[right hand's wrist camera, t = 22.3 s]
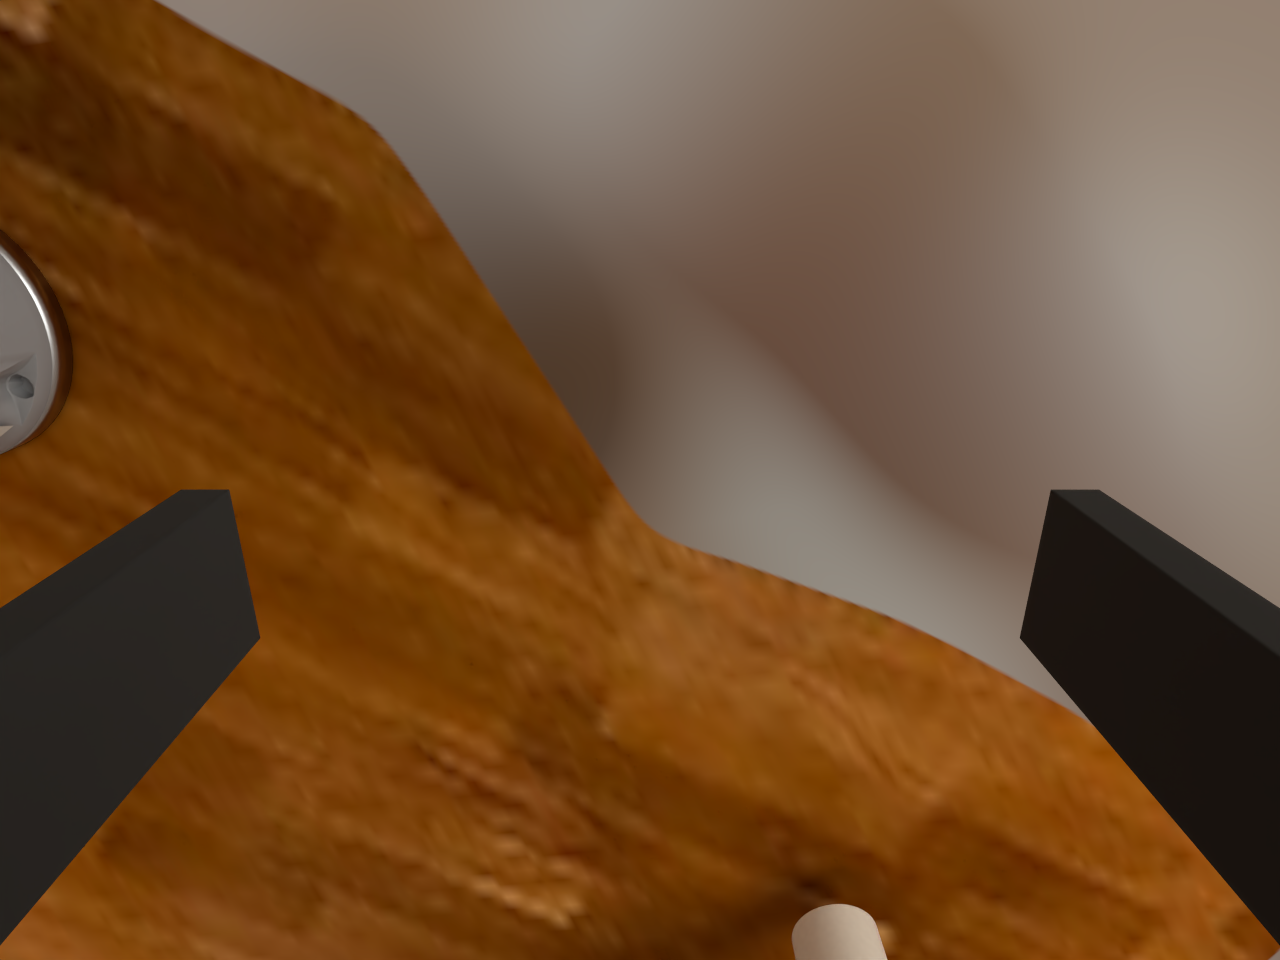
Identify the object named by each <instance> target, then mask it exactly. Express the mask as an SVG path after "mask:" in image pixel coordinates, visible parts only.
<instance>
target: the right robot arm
mask: <svg viewBox="0 0 1280 960" xmlns="http://www.w3.org/2000/svg"><path fill="white" fill-rule="evenodd" d="M72 372H73V355H72V345H71V339H70V334H69V330H68V327H67V323H66V320H65V317H64V314H63V312H62V309H61V307H60V305H59V303H58V300H57V298H56V296H55V294H54V293H53V291H52V289H51V287H50V286H49V284H48V282H47V281H46V279H45V278H44V276H43V275H42V273H41V272H40V270H39V269H38V268H37V266H36V265H35V264H34V263H33V261H32V260H31V259H30V258H29V257H28V255H27V254H26V253H25V252H24V251H23V250H22V249H21V248H20V247H19V246H18V245H17V244H16V243H15V242H14V241H13V240H12V239H11V238H10V237H9V236H8V235H6V234H5V233H4V232H3V231H1V230H0V454H2V453H4V452H6V451H9V450H11V449H14V448H16V447H18V446H21V445H23V444H25V443H27V442H29V441H31V440H32V439H34V438H36V437H37V436H38V435H40V434H41V433H42V432H43V431H45V430H46V429H47V428H48V427H49V426H50V424H51V423H52V422H53V421H54V420H55V418H56V417H57V416H58V414H59V413H60V411H61V409H62V407H63V405H64V403H65V401H66V398H67V396H68V392H69V389H70V385H71V379H72ZM259 639H260V635H259V630H258V625H257V620H256V616H255V611H254V606H253V601H252V596H251V592H250V587H249V582H248V577H247V573H246V568H245V563H244V558H243V554H242V549H241V544H240V539H239V535H238V530H237V525H236V520H235V516H234V511H233V506H232V501H231V497H230V492H229V490H180V491H178V492H177V493H175V494H174V495H172V496H171V497H169V498H168V499H166V500H165V501H163V502H162V503H160V504H159V505H157V506H156V507H154V508H153V509H151V510H149V511H148V512H146V513H145V514H143V515H142V516H140V517H139V518H137V519H136V520H134V521H133V522H131V523H130V524H128V525H127V526H125V527H124V528H122V529H120V530H119V531H117V532H116V533H114V534H113V535H111V536H110V537H108V538H107V539H105V540H104V541H102V542H101V543H99V544H98V545H96V546H95V547H93V548H91V549H90V550H88V551H87V552H85V553H84V554H82V555H81V556H79V557H78V558H76V559H75V560H73V561H72V562H70V563H69V564H67V565H66V566H64V567H62V568H61V569H59V570H58V571H56V572H55V573H53V574H52V575H50V576H49V577H47V578H46V579H44V580H43V581H41V582H40V583H38V584H37V585H35V586H34V587H32V588H30V589H29V590H27V591H26V592H24V593H23V594H21V595H20V596H18V597H17V598H15V599H14V600H12V601H11V602H9V603H8V604H6V605H5V606H3V607H1V608H0V945H1V944H2V943H3V941H4V940H5V939H6V938H7V937H8V935H9V934H10V933H11V932H12V931H13V930H14V928H15V927H16V926H17V925H18V924H19V922H20V921H21V920H22V919H23V918H24V917H25V915H26V914H27V913H28V912H29V911H30V909H31V908H32V907H33V906H34V905H35V904H36V902H37V901H38V900H39V899H40V898H41V896H42V895H43V894H44V893H45V892H46V891H47V889H48V888H49V887H50V886H51V885H52V883H53V882H54V881H55V880H56V879H57V878H58V876H59V875H60V874H61V873H62V872H63V870H64V869H65V868H66V867H67V866H68V865H69V863H70V862H71V861H72V860H73V859H74V857H75V856H76V855H77V854H78V853H79V852H80V850H81V849H82V848H83V847H84V846H85V844H86V843H87V842H88V841H89V840H90V839H91V837H92V836H93V835H94V834H95V833H96V831H97V830H98V829H99V828H100V827H101V826H102V824H103V823H104V822H105V821H106V820H107V818H108V817H109V816H110V815H111V814H112V813H113V811H114V810H115V809H116V808H117V807H118V805H119V804H120V803H121V802H122V801H123V800H124V798H125V797H126V796H127V795H128V794H129V792H130V791H131V790H132V789H133V788H134V787H135V785H136V784H137V783H138V782H139V781H140V779H141V778H142V777H143V776H144V775H145V774H146V772H147V771H148V770H149V769H150V768H151V766H152V765H153V764H154V763H155V762H156V761H157V759H158V758H159V757H160V756H161V755H162V753H163V752H164V751H165V750H166V749H167V748H168V746H169V745H170V744H171V743H172V742H173V740H174V739H175V738H176V737H177V736H178V735H179V733H180V732H181V731H182V730H183V729H184V727H185V726H186V725H187V724H188V723H189V722H190V720H191V719H192V718H193V717H194V716H195V714H196V713H197V712H198V711H199V710H200V709H201V707H202V706H203V705H204V704H205V703H206V701H207V700H208V699H209V698H210V697H211V695H212V694H213V693H214V692H215V691H216V690H217V688H218V687H219V686H220V685H221V684H222V682H223V681H224V680H225V679H226V678H227V677H228V675H229V674H230V673H231V672H232V671H233V669H234V668H235V667H236V666H237V665H238V664H239V662H240V661H241V660H242V659H243V658H244V656H245V655H246V654H247V653H248V652H249V651H250V649H251V648H252V647H253V646H254V645H255V643H256V642H257V641H258V640H259ZM1020 639H1021V640H1022V641H1023V642H1024V643H1025V645H1026V646H1027V647H1028V648H1029V649H1030V651H1031V652H1032V653H1033V654H1034V655H1035V656H1036V658H1037V659H1038V660H1039V661H1040V662H1041V664H1042V665H1043V666H1044V667H1045V668H1046V669H1047V671H1048V672H1049V673H1050V674H1051V675H1052V677H1053V678H1054V679H1055V680H1056V681H1057V682H1058V684H1059V685H1060V686H1061V687H1062V688H1063V690H1064V691H1065V692H1066V693H1067V694H1068V695H1069V697H1070V698H1071V699H1072V700H1073V701H1074V703H1075V704H1076V705H1077V706H1078V707H1079V709H1080V710H1081V711H1082V712H1083V713H1084V714H1085V716H1086V717H1087V718H1088V719H1089V720H1090V722H1091V723H1092V724H1093V725H1094V726H1095V727H1096V729H1097V730H1098V731H1099V732H1100V733H1101V735H1102V736H1103V737H1104V738H1105V739H1106V740H1107V742H1108V743H1109V744H1110V745H1111V746H1112V748H1113V749H1114V750H1115V751H1116V752H1117V753H1118V755H1119V756H1120V757H1121V758H1122V759H1123V761H1124V762H1125V763H1126V764H1127V765H1128V766H1129V768H1130V769H1131V770H1132V771H1133V772H1134V774H1135V775H1136V776H1137V777H1138V778H1139V779H1140V781H1141V782H1142V783H1143V784H1144V785H1145V787H1146V788H1147V789H1148V790H1149V791H1150V792H1151V794H1152V795H1153V796H1154V797H1155V798H1156V800H1157V801H1158V802H1159V803H1160V804H1161V805H1162V807H1163V808H1164V809H1165V810H1166V811H1167V813H1168V814H1169V815H1170V816H1171V817H1172V818H1173V820H1174V821H1175V822H1176V823H1177V824H1178V826H1179V827H1180V828H1181V829H1182V830H1183V831H1184V833H1185V834H1186V835H1187V836H1188V837H1189V839H1190V840H1191V841H1192V842H1193V843H1194V844H1195V846H1196V847H1197V848H1198V849H1199V850H1200V852H1201V853H1202V854H1203V855H1204V856H1205V857H1206V859H1207V860H1208V861H1209V862H1210V863H1211V865H1212V866H1213V867H1214V868H1215V869H1216V870H1217V872H1218V873H1219V874H1220V875H1221V876H1222V878H1223V879H1224V880H1225V881H1226V882H1227V883H1228V885H1229V886H1230V887H1231V888H1232V889H1233V891H1234V892H1235V893H1236V894H1237V895H1238V896H1239V898H1240V899H1241V900H1242V901H1243V902H1244V904H1245V905H1246V906H1247V907H1248V908H1249V909H1250V911H1251V912H1252V913H1253V914H1254V915H1255V917H1256V918H1257V919H1258V920H1259V921H1260V922H1261V924H1262V925H1263V926H1264V927H1265V928H1266V930H1267V931H1268V932H1269V933H1270V934H1271V935H1272V937H1273V938H1274V939H1275V940H1276V941H1277V943H1278V944H1279V945H1280V608H1279V607H1277V606H1275V605H1274V604H1272V603H1271V602H1269V601H1268V600H1266V599H1265V598H1263V597H1262V596H1260V595H1259V594H1257V593H1256V592H1254V591H1253V590H1251V589H1250V588H1248V587H1246V586H1245V585H1243V584H1242V583H1240V582H1239V581H1237V580H1236V579H1234V578H1233V577H1231V576H1230V575H1228V574H1227V573H1225V572H1224V571H1222V570H1221V569H1219V568H1217V567H1216V566H1214V565H1213V564H1211V563H1210V562H1208V561H1207V560H1205V559H1204V558H1202V557H1201V556H1199V555H1198V554H1196V553H1195V552H1193V551H1192V550H1190V549H1189V548H1187V547H1185V546H1184V545H1182V544H1181V543H1179V542H1178V541H1176V540H1175V539H1173V538H1172V537H1170V536H1169V535H1167V534H1166V533H1164V532H1163V531H1161V530H1160V529H1158V528H1156V527H1155V526H1153V525H1152V524H1150V523H1149V522H1147V521H1146V520H1144V519H1143V518H1141V517H1140V516H1138V515H1137V514H1135V513H1134V512H1132V511H1131V510H1129V509H1127V508H1126V507H1124V506H1123V505H1121V504H1120V503H1118V502H1117V501H1115V500H1114V499H1112V498H1111V497H1109V496H1108V495H1106V494H1105V493H1103V492H1102V491H1100V490H1051V492H1050V497H1049V501H1048V506H1047V511H1046V516H1045V520H1044V525H1043V530H1042V535H1041V539H1040V544H1039V549H1038V554H1037V558H1036V563H1035V568H1034V573H1033V577H1032V582H1031V587H1030V592H1029V597H1028V601H1027V606H1026V611H1025V616H1024V620H1023V625H1022V630H1021V635H1020Z"/></svg>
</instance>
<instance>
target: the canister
mask: <svg viewBox="0 0 1280 960" xmlns="http://www.w3.org/2000/svg"><path fill="white" fill-rule="evenodd" d="M792 943H793V948H794V953H795V958H796V960H887V957H886V954H885V951H884V948H883V945H882V941H881V938H880V935H879V932H878V929H877V926H876V923H875V921H874V920H873V918H872V917H871V916H870V915H869V914H868V913H866V912H865V911H863V910H862V909H860V908H858V907H855V906H851V905H846V904H830V905H825V906H821V907H818V908H815V909H813V910H811V911H809V912H808V913H806V914H805V915H804V916H803V917H801V918H800V920H799V921H798V922H797V923H796V925H795V927H794V929H793V933H792Z"/></svg>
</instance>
